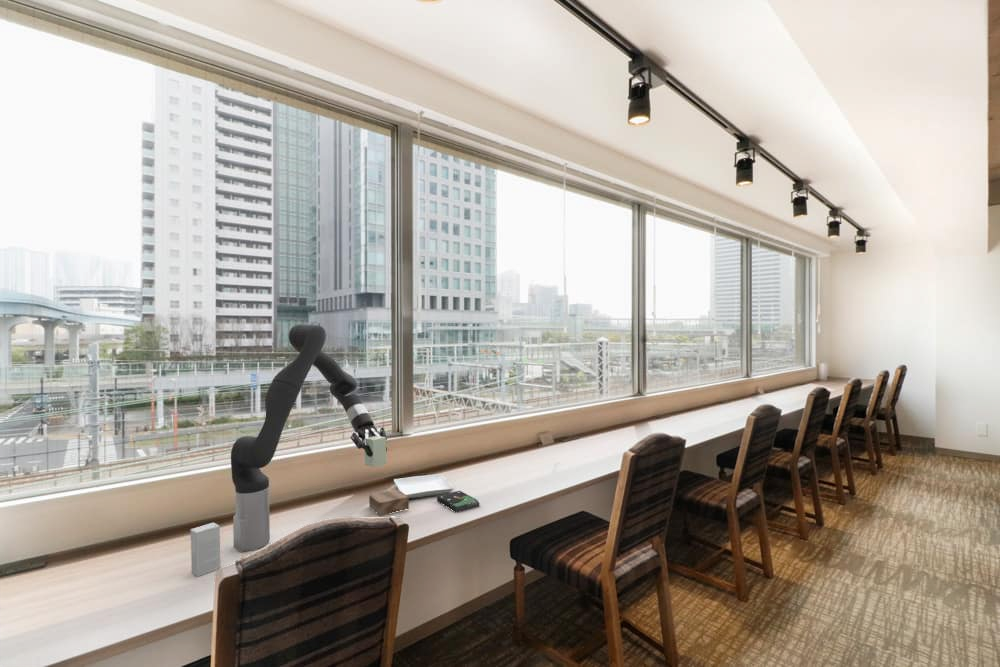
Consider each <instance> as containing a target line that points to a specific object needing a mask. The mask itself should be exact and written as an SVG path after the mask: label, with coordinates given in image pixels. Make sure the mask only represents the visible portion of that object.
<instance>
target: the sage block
mask: <svg viewBox="0 0 1000 667" xmlns="http://www.w3.org/2000/svg"><path fill="white" fill-rule="evenodd" d="M386 437H387V436H386ZM386 437H381V436H373V437H368V438H367V442H368V446H370V448H371V450H372V452H373V455H372V456H371V457H369V456H368V455H367V454H366V452H365V451H364V465H365V466H368V467H372V468H376V467H379V466H385V465H386V464H387V451H386V447H387V440H386Z"/></svg>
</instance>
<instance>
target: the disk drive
mask: <svg viewBox="0 0 1000 667" xmlns="http://www.w3.org/2000/svg"><path fill="white" fill-rule="evenodd" d="M436 496H437V497H436V500H437V501H439V502H440V503H439V502H438V503H439V504H441V503H442V504H444V505H445V506H444V505H443V506H444V507H446V506H447V507H449V508H450V509H449V508H448V509H449V510H451V509H452V510H453V511H452V510H451V511H452V512H454V511H455V512H454V513H456V512H457V513H459V512H460V511H461V512H463V511H464V510H465V511H467V510H472V509H475V508H479V507H480V502H479V500H478V499H476V498H475V497H472V496H471V495H468V494H467V493H465V492H464V491H461V490H456V491H451V492H448V493H445V494H440V495H436ZM437 501H436V502H437ZM442 504H441V505H442ZM447 507H446V508H447Z"/></svg>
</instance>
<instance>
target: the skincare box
mask: <svg viewBox="0 0 1000 667" xmlns="http://www.w3.org/2000/svg"><path fill="white" fill-rule="evenodd" d="M220 527H221V526H220V525H219V524H217V523H215V522H210V523H206V524H204V525H201V526H197V527H194V528H190V555H191V556H190V558H191V559H190V560H191V561H190V562H191V573H192V574H193V575H194V576H196V577H200V576H203V575H207V574H209V573H211V572H214V571H217V570H219V568H220V569H221V568H222V567H221V562H222V560H221V528H220Z"/></svg>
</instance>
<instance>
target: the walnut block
mask: <svg viewBox="0 0 1000 667" xmlns="http://www.w3.org/2000/svg"><path fill="white" fill-rule="evenodd" d="M368 496H369V498H368V499H369V500H368V502H369V504H368V505H369V506H368V507H369V508H370V509H371V510H372V509H373V510H374V511H375V512H377V514H378V515H377V514H376V515H377V516H378V517H382V516H386V515H385V514H388V515H390V514H389V513H392V512H396V511H400V510H405V509H409V508H410V507H409V506H410V505H409V504H410V503H409V497H408V496H407V495H405V494H404V493H402V492H401V491H399V489H398V488H396V489H390V490H385V491H381V492H376V493H371V494H368ZM373 510H372V511H373ZM374 511H373V512H374ZM405 511H406V510H405ZM375 512H374V513H375ZM396 513H397V512H396ZM392 514H393V513H392Z"/></svg>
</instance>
